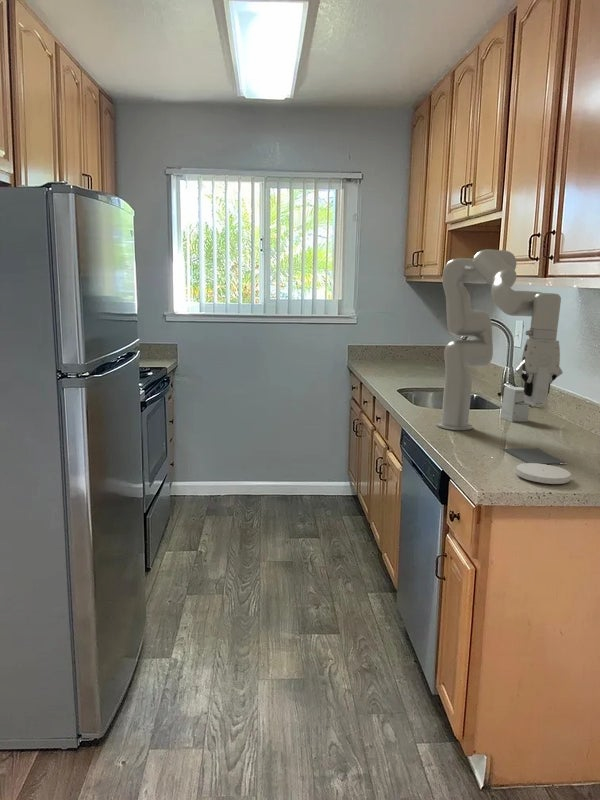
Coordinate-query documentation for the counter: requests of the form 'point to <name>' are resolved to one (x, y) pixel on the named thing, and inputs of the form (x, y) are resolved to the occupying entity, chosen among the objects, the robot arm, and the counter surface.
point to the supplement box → (514, 405)
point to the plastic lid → (543, 473)
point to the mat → (533, 456)
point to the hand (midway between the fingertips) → (536, 395)
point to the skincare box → (539, 388)
